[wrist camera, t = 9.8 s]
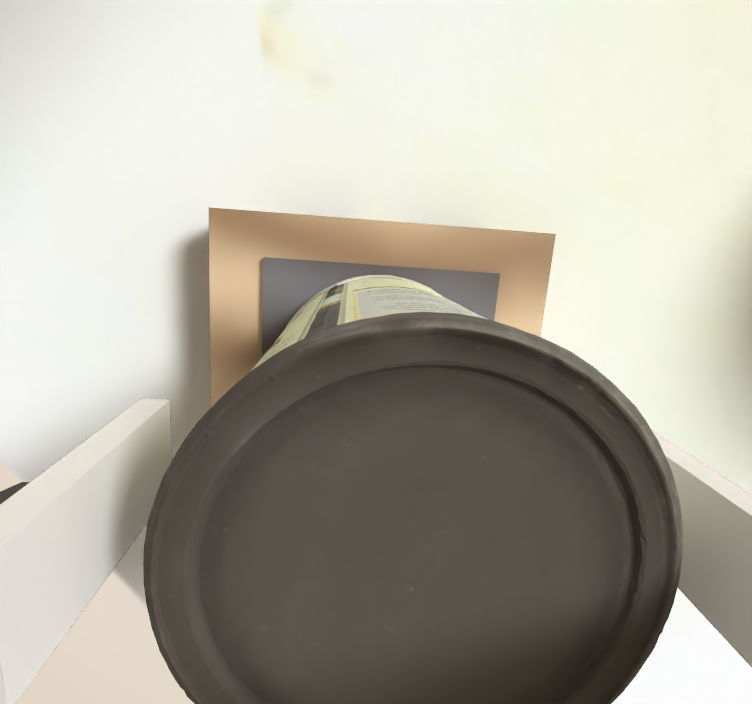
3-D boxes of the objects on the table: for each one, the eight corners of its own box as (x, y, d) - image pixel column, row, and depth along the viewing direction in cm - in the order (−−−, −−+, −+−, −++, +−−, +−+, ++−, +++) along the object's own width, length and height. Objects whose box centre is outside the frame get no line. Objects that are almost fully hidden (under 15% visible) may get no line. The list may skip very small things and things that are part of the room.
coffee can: (460, 486, 24) (608, 812, 10) (261, 462, 23) (126, 780, 9) (503, 290, 22) (766, 365, 8) (285, 255, 21) (156, 270, 7)
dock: (226, 212, 23) (206, 207, 20) (531, 235, 24) (558, 233, 21) (226, 480, 27) (209, 512, 23) (495, 490, 28) (514, 521, 24)
